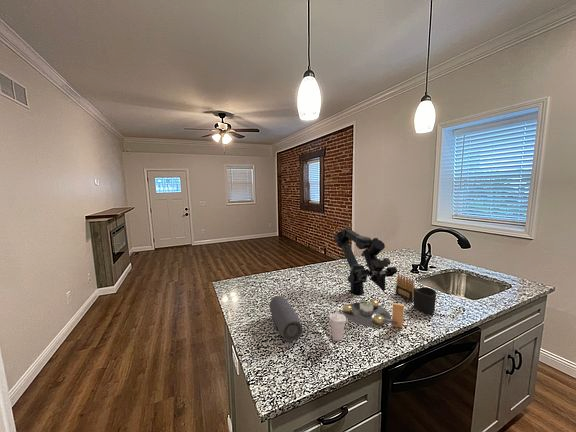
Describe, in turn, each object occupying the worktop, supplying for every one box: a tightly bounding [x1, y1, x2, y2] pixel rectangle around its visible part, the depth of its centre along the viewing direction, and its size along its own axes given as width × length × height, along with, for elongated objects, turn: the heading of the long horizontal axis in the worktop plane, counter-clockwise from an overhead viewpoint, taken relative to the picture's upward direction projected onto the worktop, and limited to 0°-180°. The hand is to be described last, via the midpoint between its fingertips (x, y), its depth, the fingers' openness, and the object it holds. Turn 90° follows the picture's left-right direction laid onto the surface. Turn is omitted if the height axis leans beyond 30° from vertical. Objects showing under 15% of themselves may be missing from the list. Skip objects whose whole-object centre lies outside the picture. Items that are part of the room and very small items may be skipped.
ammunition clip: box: [395, 272, 415, 302], centre depth 131 cm, size 11×2×12 cm, turn 23°
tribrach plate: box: [342, 299, 392, 327], centre depth 113 cm, size 21×21×6 cm
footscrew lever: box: [373, 302, 405, 329], centre depth 103 cm, size 12×4×10 cm, turn 65°
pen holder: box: [413, 286, 437, 316], centre depth 117 cm, size 9×9×10 cm
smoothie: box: [329, 305, 347, 342], centre depth 95 cm, size 6×6×14 cm
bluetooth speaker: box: [269, 295, 304, 342], centre depth 104 cm, size 23×9×10 cm, turn 17°
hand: (384, 290), depth 113 cm, fingers closed
